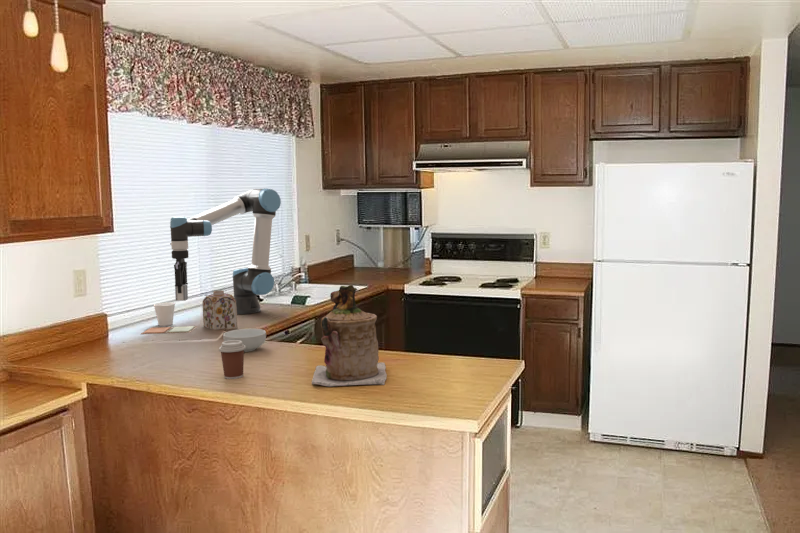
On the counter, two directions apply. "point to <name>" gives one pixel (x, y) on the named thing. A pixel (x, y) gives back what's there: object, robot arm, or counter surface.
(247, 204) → the robot arm
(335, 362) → the cookie jar
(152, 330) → the pad
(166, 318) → the cup
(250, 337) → the cereal bowl
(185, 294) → the slate block
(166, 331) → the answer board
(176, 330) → the pad
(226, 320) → the decorative jar
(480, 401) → the counter surface
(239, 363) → the coffee cup
